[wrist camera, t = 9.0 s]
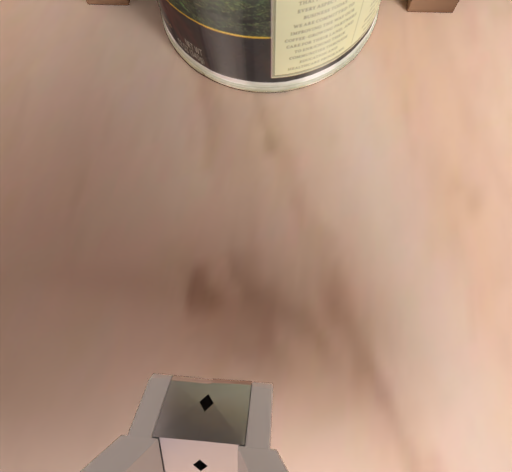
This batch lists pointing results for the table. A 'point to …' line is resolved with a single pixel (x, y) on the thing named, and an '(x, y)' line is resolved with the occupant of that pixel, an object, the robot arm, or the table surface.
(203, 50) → the coffee can
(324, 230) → the table surface
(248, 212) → the table surface
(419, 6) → the walnut rail
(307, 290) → the table surface
